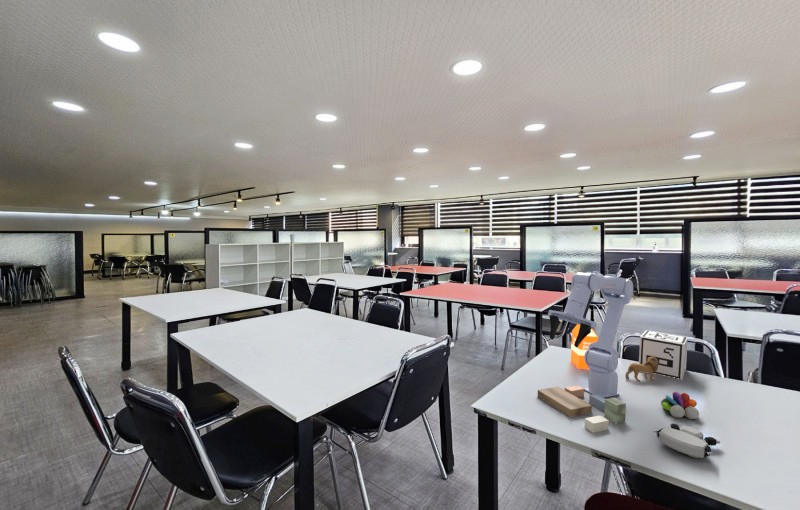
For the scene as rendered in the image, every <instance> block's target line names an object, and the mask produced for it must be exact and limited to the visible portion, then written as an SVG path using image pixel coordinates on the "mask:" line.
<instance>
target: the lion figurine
mask: <svg viewBox="0 0 800 510" xmlns="http://www.w3.org/2000/svg"><path fill="white" fill-rule="evenodd" d="M627 368H628V369H627V371H626V372H625V380H628V379H629V378H630V376H629V375H631V374H632V373H633V374H634V376H633V377H634V379H635V380H636V382H641V379H639V378H638V376H639V374H643V378H644V379H648V374H649V381H650V382H654V381H655V380H654V379H653V377H654V374H653V373H654V372H656V371H657V368H658V360H657V359H656V358H655V357H648V358H647V361H646V363H645V364H639V363H637V362H634V363H631V364H629V366H628V367H627Z"/></svg>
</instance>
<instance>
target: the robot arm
mask: <svg viewBox="0 0 800 510" xmlns="http://www.w3.org/2000/svg"><path fill="white" fill-rule="evenodd" d="M596 290H600V292H601V295H602V297H603V300H604V301H605V302H607V303H608V306H607V309H606V312H605V316H604V319H603V322H602V325H601V328H600V333H599V335H598V341H596V342H594V343H591V344H589V347H588V349H587V350H586V352H585V355H584V361H585V363H586V364H587V365H588V366H587V367H588V368H589V369H588V386H586V387H583V388H584V392H585V391H586V392H588V393H589V394H590V395H593V394H597V395H599V396H601V397H603V398H605V399H606V398H609V397H614V396H619V395H620V392H618V389H619V388H618V385H619V384H618V383H619V382H618V381H619V376H618V373H617V371H616V370H617V368H618V365H619V358H620V355H619V351H617V349H616V348H614V346H613V345H614V341H615V337H616V335H617V331H618V328H619V325H620V321H621V317H622V315H623V311H624V307H625V305H628V304H630V302H631V300H632V296H633V292H634V284H633V281H632V280H631V279H630V278H629V279H627V278H623V277H619V276H618V277H617V276H609V275H604V274H602V273H600V272H599V271H586V272H576V273H575V274H573V276H572V278H571V286H570V293H569V297H568V300H567V302H566V305H565V308H564V310H563V311H558V310H557V311H556V310H552V309H549V310H548V313H547V316H548V317H549V323H550V332H549V338H550V340H555V336H556V333H557V331H558V328H559V326H560V324H561V321H565V322H569V323H571V324H574V325H577V324H578V325H580V328H579V332H578V336H577V338H576V341H575V344H574V346H575V347H577V348H578V346H579V344H580V343H581V342H582V340H583V339H584V338H585V337H586V336H587V335H589V334H590V333H591V329H593V331H595V330H596V328H597V322H596V321H592V320H590V319H587V318H585V317H584V314H585V312H586V308H587V305H588V301H589V299H590V296H591V294H592V292H595V291H596ZM560 320H561V321H560Z"/></svg>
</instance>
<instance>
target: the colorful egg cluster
mask: <svg viewBox="0 0 800 510" xmlns="http://www.w3.org/2000/svg"><path fill="white" fill-rule="evenodd" d="M660 405H661V408H663V409H664V410H667V411H669V412H670V414H671V416H672V417H674V418H677V419H681V418H683V417H684V416H685V417H686V418H688V419H690V420H697V419H698V418H699V416H700V412H699V410H698V408H697V407H696V406H697V405H698V404H697V401H696V400H695V399H694V398H693V399H692V398H691V397H690V395H689V394H688V393H686V392H682V393H679V392H677V391H674V392H672V397H671V396H670V395H668V394H666V395H665V397H662V398H661V400H660Z"/></svg>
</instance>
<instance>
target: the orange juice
mask: <svg viewBox="0 0 800 510" xmlns="http://www.w3.org/2000/svg"><path fill="white" fill-rule="evenodd" d="M575 325H576V326H574V328H573V329H572V330H571V347H570V350H571V351H570V353H571V354H570V362H571V363H572V364H573V365H574V366H575V367H576V368H577V369H578V370H589V368H588V367H587V366H588V365H587V364H586V363H585V361H584V355H585V352H586V350H587V349H588V347H589V344H591V343H594V342H596V341H598V338H599V336H598V335H597V334H596V332H595V330H594V329H591V333H590V334H589V335H587V336H586V337H585V338H584V339H583V340H582V342H581V343H580V344H579V346H578V348H577V347H575V346H574V344H575V341H576V338H577V336H578V332H579V328H580V325H578V324H575Z"/></svg>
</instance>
